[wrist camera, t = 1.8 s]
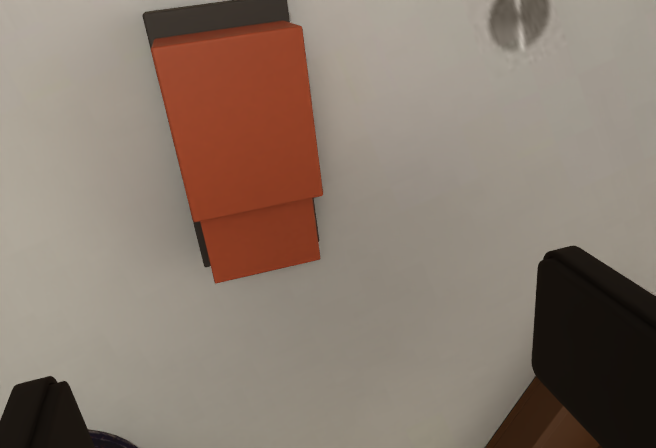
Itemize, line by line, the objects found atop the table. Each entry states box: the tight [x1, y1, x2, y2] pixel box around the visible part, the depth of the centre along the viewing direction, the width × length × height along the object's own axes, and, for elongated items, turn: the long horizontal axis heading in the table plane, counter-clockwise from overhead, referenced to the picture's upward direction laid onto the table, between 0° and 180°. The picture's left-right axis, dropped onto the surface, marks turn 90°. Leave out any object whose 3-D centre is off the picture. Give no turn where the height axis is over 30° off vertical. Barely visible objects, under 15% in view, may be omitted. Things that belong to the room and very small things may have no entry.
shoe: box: [143, 0, 323, 283], centre depth 24 cm, size 12×6×5 cm, turn 7°
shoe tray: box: [486, 376, 602, 448], centre depth 40 cm, size 18×11×3 cm, turn 152°
